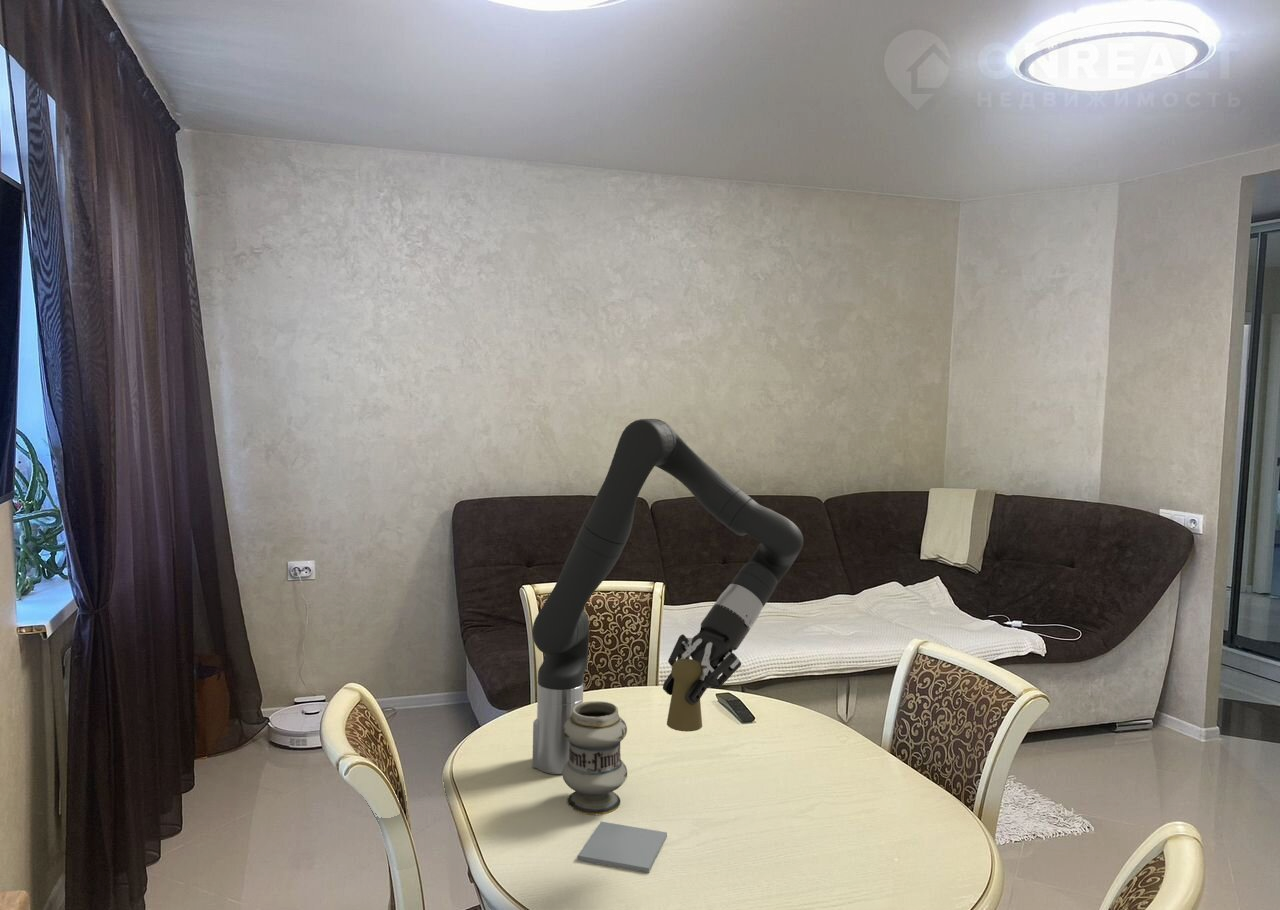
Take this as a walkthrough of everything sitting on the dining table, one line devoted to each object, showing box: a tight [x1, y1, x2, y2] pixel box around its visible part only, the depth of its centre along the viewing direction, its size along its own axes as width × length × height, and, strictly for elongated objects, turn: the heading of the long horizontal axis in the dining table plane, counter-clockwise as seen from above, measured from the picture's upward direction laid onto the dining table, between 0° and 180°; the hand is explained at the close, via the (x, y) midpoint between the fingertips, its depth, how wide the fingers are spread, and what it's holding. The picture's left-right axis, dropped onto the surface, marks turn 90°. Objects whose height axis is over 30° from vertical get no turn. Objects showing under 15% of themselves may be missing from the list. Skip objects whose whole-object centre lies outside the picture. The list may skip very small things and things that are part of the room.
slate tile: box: [577, 821, 668, 874], centre depth 147 cm, size 12×12×1 cm
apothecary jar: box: [561, 700, 628, 816], centre depth 162 cm, size 12×12×18 cm
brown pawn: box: [666, 658, 703, 732], centre depth 147 cm, size 6×6×11 cm
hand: (677, 696), depth 146 cm, fingers closed on brown pawn, 5 cm apart
